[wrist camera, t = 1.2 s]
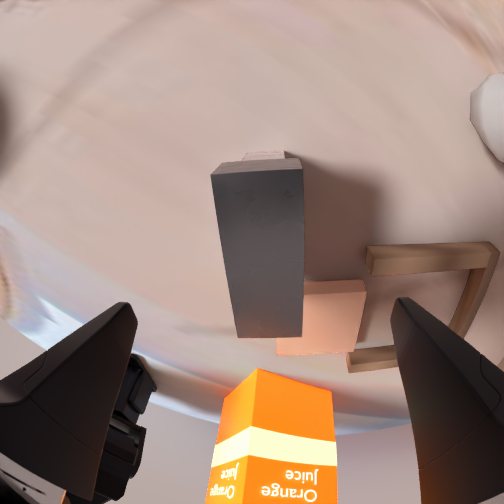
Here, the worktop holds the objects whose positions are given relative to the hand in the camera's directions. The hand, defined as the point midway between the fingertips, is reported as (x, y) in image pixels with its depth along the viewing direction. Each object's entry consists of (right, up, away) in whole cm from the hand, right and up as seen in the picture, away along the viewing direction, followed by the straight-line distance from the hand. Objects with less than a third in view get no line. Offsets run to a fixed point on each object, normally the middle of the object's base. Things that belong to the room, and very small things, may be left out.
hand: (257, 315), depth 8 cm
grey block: (+1, +4, +7) cm, 8 cm away
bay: (+12, -2, +10) cm, 16 cm away
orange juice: (+2, -13, +17) cm, 22 cm away
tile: (+5, -2, +11) cm, 12 cm away
